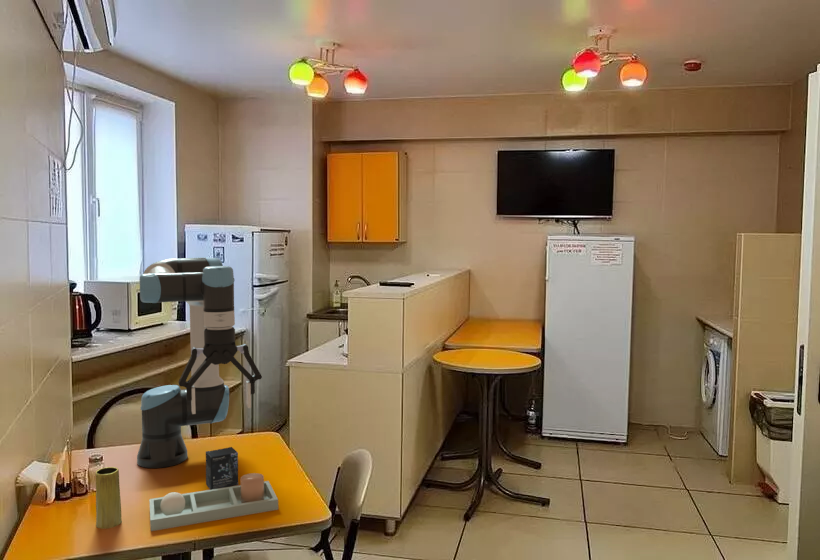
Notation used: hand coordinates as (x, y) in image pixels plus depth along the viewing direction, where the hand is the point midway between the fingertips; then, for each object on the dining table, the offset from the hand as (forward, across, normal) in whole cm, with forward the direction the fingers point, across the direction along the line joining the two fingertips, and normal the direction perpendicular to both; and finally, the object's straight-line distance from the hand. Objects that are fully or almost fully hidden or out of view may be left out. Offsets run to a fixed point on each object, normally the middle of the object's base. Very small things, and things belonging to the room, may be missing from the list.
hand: (221, 409), depth 164 cm
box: (+28, +2, +19) cm, 34 cm away
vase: (+28, -27, +5) cm, 40 cm away
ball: (+27, -12, +3) cm, 30 cm away
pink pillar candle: (+27, +8, +3) cm, 28 cm away
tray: (+28, -2, +3) cm, 28 cm away
